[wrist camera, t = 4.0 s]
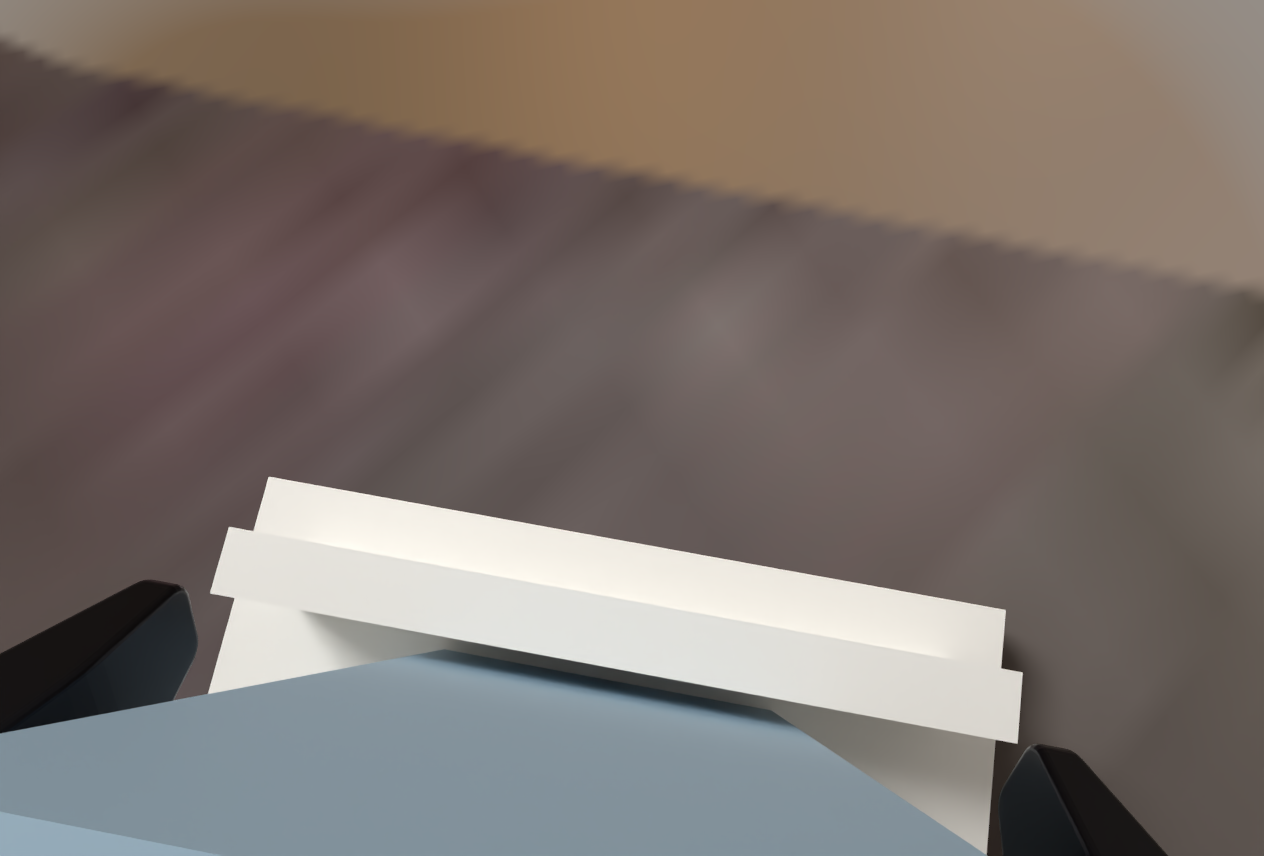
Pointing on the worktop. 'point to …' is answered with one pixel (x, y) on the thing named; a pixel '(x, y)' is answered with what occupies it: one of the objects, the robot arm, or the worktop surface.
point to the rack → (628, 630)
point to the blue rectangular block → (446, 773)
